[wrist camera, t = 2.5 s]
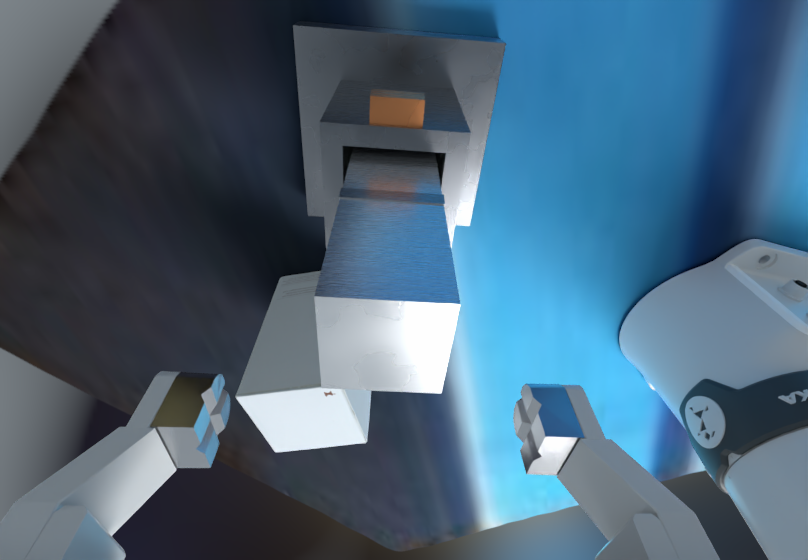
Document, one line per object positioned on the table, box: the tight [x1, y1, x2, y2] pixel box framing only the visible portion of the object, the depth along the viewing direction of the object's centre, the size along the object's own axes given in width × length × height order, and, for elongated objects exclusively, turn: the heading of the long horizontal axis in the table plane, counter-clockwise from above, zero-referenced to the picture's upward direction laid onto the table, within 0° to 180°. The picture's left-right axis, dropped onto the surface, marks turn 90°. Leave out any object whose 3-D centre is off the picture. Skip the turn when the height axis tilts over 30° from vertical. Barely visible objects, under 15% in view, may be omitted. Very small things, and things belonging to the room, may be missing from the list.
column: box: [314, 146, 460, 393], centre depth 20 cm, size 4×4×18 cm
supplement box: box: [236, 271, 371, 452], centre depth 33 cm, size 7×7×13 cm
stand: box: [293, 21, 506, 249], centre depth 24 cm, size 12×12×10 cm
